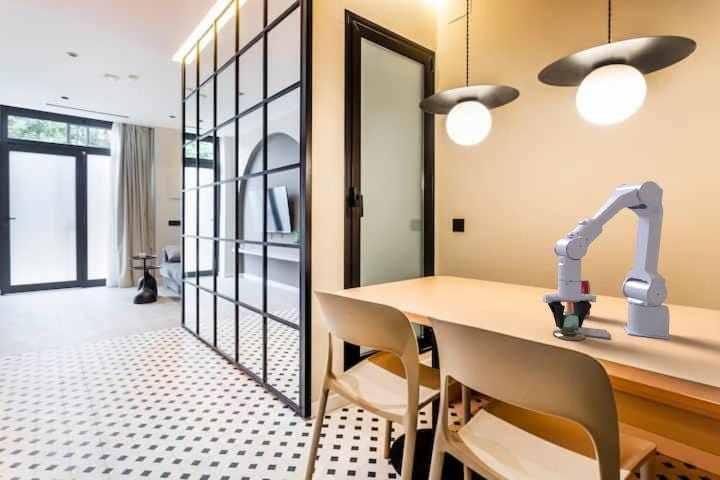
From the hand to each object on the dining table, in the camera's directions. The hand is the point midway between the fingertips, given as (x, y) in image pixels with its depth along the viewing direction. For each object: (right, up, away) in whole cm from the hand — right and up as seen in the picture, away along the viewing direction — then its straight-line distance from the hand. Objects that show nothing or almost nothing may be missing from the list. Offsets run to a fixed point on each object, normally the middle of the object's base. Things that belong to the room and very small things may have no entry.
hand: (568, 327), depth 105 cm
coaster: (+8, -3, +2) cm, 9 cm away
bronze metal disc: (0, -3, 0) cm, 3 cm away
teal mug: (0, -1, 0) cm, 1 cm away
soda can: (+16, -2, +22) cm, 27 cm away
